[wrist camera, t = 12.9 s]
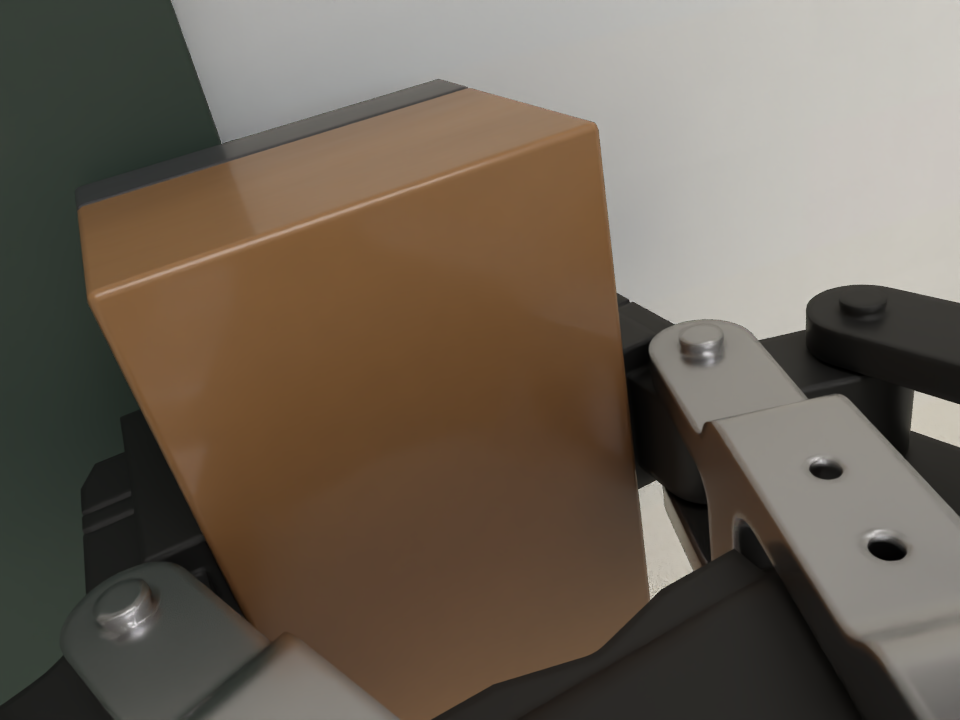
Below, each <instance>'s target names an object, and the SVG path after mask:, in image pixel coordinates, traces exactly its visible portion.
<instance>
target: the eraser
mask: <svg viewBox="0 0 960 720" xmlns="http://www.w3.org/2000/svg"><path fill="white" fill-rule="evenodd" d="M75 202H76V211H77V215H78V225H79V234H80V243H81V252H82V261H83V269H84V278H85V287H86V296H87V303H88V305H89V307H90V309H91V311H92V313H93V315H94V317H95V319H96V321H97V323H98V325H99V327H100V329H101V331H102V333H103V335H104V337H105V339H106V341H107V343H108V345H109V347H110V349H111V351H112V353H113V355H114V357H115V359H116V361H117V363H118V365H119V367H120V369H121V371H122V373H123V375H124V377H125V379H126V381H127V383H128V385H129V387H130V389H131V391H132V393H133V395H134V397H135V399H136V401H137V403H138V405H139V407H140V409H141V411H142V413H143V415H144V417H145V419H146V421H147V423H148V425H149V428H150V430H151V432H152V434H153V436H154V438H155V440H156V442H157V444H158V446H159V448H160V450H161V452H162V454H163V456H164V458H165V460H166V462H167V464H168V466H169V468H170V470H171V472H172V474H173V476H174V478H175V480H176V482H177V484H178V486H179V488H180V490H181V492H182V494H183V496H184V498H185V500H186V502H187V504H188V506H189V508H190V510H191V512H192V514H193V516H194V518H195V520H196V522H197V524H198V526H199V528H200V530H201V532H202V534H203V536H204V538H205V540H206V542H207V544H208V546H209V548H210V550H211V552H212V554H213V556H214V558H215V560H216V562H217V564H218V566H219V568H220V570H221V572H222V574H223V576H224V578H225V580H226V582H227V584H228V586H229V588H230V590H231V592H232V594H233V596H234V598H235V600H236V602H237V604H238V606H239V608H240V610H241V612H242V614H243V616H244V618H245V619H246V620H247V621H248V622H249V623H250V624H251V625H253V626H254V627H255V628H256V629H257V630H259V631H260V632H261V633H262V634H263V635H264V636H266V637H267V638H268V639H269V640H271V641H274V640H275V639H276V638H277V637H278V636H280V635H281V634H282V633H283V632H289V633H292V634H293V635H295V636H297V637H298V638H299V639H301V640H302V641H303V642H305V643H306V644H307V645H308V646H310V647H311V648H312V649H313V650H315V651H316V652H317V653H318V654H320V655H321V656H322V657H323V658H325V659H326V660H327V661H328V662H330V663H331V664H332V665H333V666H335V667H336V668H337V669H338V670H340V671H341V672H342V673H343V674H345V675H346V676H347V677H348V678H349V679H351V680H352V681H353V682H354V683H356V684H357V685H358V686H359V687H361V688H362V689H363V690H364V691H366V692H367V693H368V694H369V695H371V696H372V697H373V698H374V699H376V700H377V701H378V702H379V703H381V704H382V705H383V706H384V707H386V708H387V709H388V710H389V711H390V712H392V713H393V714H394V715H395V716H397V717H398V718H399V719H400V720H431V719H433V718H435V717H437V716H438V715H440V714H442V713H444V712H445V711H447V710H449V709H451V708H452V707H454V706H456V705H458V704H460V703H461V702H463V701H465V700H467V699H468V698H470V697H472V696H474V695H475V694H477V693H479V692H481V691H483V690H484V689H486V688H488V687H490V686H491V685H493V684H496V683H500V682H503V681H506V680H510V679H513V678H516V677H519V676H523V675H526V674H529V673H533V672H536V671H539V670H542V669H546V668H549V667H552V666H556V665H559V664H562V663H565V662H569V661H572V660H575V659H579V658H582V657H585V656H588V655H590V654H592V653H594V652H596V651H598V650H599V649H600V648H601V647H602V646H604V645H605V644H606V643H607V642H608V641H609V640H610V639H611V638H612V637H613V636H614V635H615V634H616V633H617V632H618V631H619V630H620V629H621V628H622V627H623V626H624V625H625V624H626V623H627V622H628V621H629V620H630V619H631V618H633V617H634V616H635V615H636V614H637V613H638V612H639V611H640V610H641V609H642V608H643V607H644V606H645V605H646V604H647V603H648V602H649V601H650V594H649V585H648V576H647V566H646V557H645V548H644V539H643V530H642V521H641V512H640V503H639V494H638V485H637V476H636V466H635V457H634V448H633V439H632V430H631V421H630V412H629V403H628V394H627V385H626V376H625V366H624V357H623V348H622V339H621V330H620V321H619V312H618V303H617V294H616V285H615V276H614V266H613V257H612V248H611V239H610V230H609V221H608V212H607V203H606V194H605V185H604V176H603V166H602V157H601V148H600V139H599V130H598V128H597V125H596V124H595V123H594V122H591V121H587V120H584V119H580V118H577V117H573V116H569V115H566V114H562V113H559V112H555V111H551V110H548V109H544V108H541V107H537V106H533V105H530V104H526V103H523V102H519V101H515V100H512V99H508V98H505V97H501V96H497V95H494V94H490V93H487V92H483V91H479V90H476V89H471V88H468V87H466V86H463V85H459V84H455V83H452V82H448V81H444V80H440V79H437V80H433V81H430V82H427V83H423V84H420V85H417V86H413V87H410V88H407V89H403V90H400V91H397V92H393V93H390V94H387V95H383V96H380V97H377V98H373V99H370V100H367V101H363V102H360V103H357V104H353V105H350V106H347V107H343V108H340V109H337V110H333V111H330V112H327V113H323V114H320V115H317V116H313V117H310V118H307V119H303V120H300V121H297V122H293V123H290V124H287V125H283V126H280V127H277V128H273V129H270V130H267V131H263V132H260V133H257V134H253V135H250V136H247V137H243V138H240V139H236V140H233V141H230V142H226V143H223V144H220V145H216V146H213V147H210V148H206V149H203V150H200V151H196V152H193V153H190V154H186V155H183V156H180V157H176V158H173V159H170V160H166V161H163V162H160V163H156V164H153V165H150V166H146V167H143V168H140V169H136V170H133V171H130V172H126V173H123V174H120V175H116V176H113V177H110V178H106V179H103V180H100V181H96V182H93V183H90V184H86V185H83V186H80V187H78V188H77V189H75Z"/></svg>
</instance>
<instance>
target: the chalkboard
mask: <svg viewBox="0 0 960 720" xmlns="http://www.w3.org/2000/svg"><path fill="white" fill-rule="evenodd" d="M220 144H221V141H220V138H219V135H218V132H217V129H216V127H215V124H214V121H213V118H212V115H211V113H210V110H209V107H208V104H207V101H206V98H205V96H204V93H203V90H202V87H201V84H200V82H199V79H198V76H197V73H196V70H195V67H194V65H193V62H192V59H191V56H190V53H189V51H188V48H187V45H186V42H185V39H184V36H183V34H182V31H181V28H180V25H179V22H178V20H177V17H176V14H175V11H174V8H173V5H172V3H171V0H0V706H1V705H2V704H4V703H5V702H6V701H8V700H9V699H11V698H12V697H13V696H15V695H16V694H18V693H19V692H20V691H22V690H23V689H25V688H26V687H27V686H29V685H30V684H32V683H33V682H34V681H35V680H37V679H38V678H39V677H41V676H42V675H43V674H44V673H45V672H47V671H48V670H49V669H50V668H51V667H52V666H53V665H54V664H55V663H56V662H57V661H58V660H59V659H60V658H61V657H62V656H63V653H62V651H61V650H60V644H59V639H60V632H61V629H62V626H63V624H64V622H65V620H66V618H67V616H68V615H69V614H70V612H71V611H72V609H73V608H74V607H75V606H76V605H77V603H78V602H79V601H80V600H81V599H82V598H83V597H84V596H85V595H86V586H85V567H84V548H83V536H84V533H83V529H82V517H83V514H82V510H81V491H80V489H81V488H82V486H83V484H84V482H85V481H86V479H87V477H88V475H89V473H90V472H91V470H92V468H93V466H94V465H95V464H96V463H98V462H101V461H103V460H105V459H108V458H110V457H113V456H115V455H118V454H120V453H123V452H125V450H124V443H123V437H122V430H121V423H120V417H122V416H124V415H127V414H129V413H132V412H134V411H137V410H139V409H140V407H139V405H138V403H137V401H136V399H135V397H134V395H133V393H132V391H131V389H130V387H129V385H128V383H127V381H126V379H125V377H124V375H123V373H122V371H121V369H120V367H119V365H118V363H117V361H116V359H115V357H114V355H113V353H112V351H111V349H110V347H109V345H108V343H107V341H106V339H105V337H104V335H103V333H102V331H101V329H100V327H99V325H98V323H97V321H96V319H95V317H94V315H93V313H92V311H91V309H90V307H89V305H88V303H87V296H86V287H85V278H84V269H83V261H82V252H81V243H80V234H79V225H78V215H77V211H76V202H75V189H77V188H78V187H80V186H83V185H86V184H90V183H93V182H96V181H100V180H103V179H106V178H110V177H113V176H116V175H120V174H123V173H126V172H130V171H133V170H136V169H140V168H143V167H146V166H150V165H153V164H156V163H160V162H163V161H166V160H170V159H173V158H176V157H180V156H183V155H186V154H190V153H193V152H196V151H200V150H203V149H206V148H210V147H213V146H216V145H220Z"/></svg>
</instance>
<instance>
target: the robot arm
mask: <svg viewBox="0 0 960 720" xmlns="http://www.w3.org/2000/svg"><path fill="white" fill-rule="evenodd" d="M616 294H617V303H618V312H619V321H620V330H621V339H622V348H623V357H624V366H625V376H626V385H627V394H628V403H629V412H630V421H631V430H632V439H633V448H634V457H635V466H636V476H637V485H638V489H640V488H642V487H644V486H646V485H648V484H650V483H652V482H654V481H656V480H657V481H658V482H659V483H661V484H662V486H663V496H664V506H665V510H666V512H667V515H668V517H669V519H670V521H671V523H672V526H673V528H674V530H675V532H676V534H677V536H678V539H679V541H680V543H681V545H682V547H683V549H684V552H685V554H686V556H687V558H688V560H689V563H690V565H691V567H692V569H693V572H692V573H690V574H688V575H686V576H684V577H683V578H681V579H679V580H677V581H676V582H674V583H672V584H670V585H669V586H667V587H665V588H663V589H661V590H660V591H659V592H658V593H657V594H656V595H655V596H654V597H653V598H652V599H651V600H650V601H649V602H648V603H647V604H646V605H645V606H644V607H643V608H642V609H641V610H640V611H639V612H638V613H637V614H636V615H635V616H634V617H633V618H631V619H630V620H629V621H628V622H627V623H626V624H625V625H624V626H623V627H622V628H621V629H620V630H619V631H618V632H617V633H616V634H615V635H614V636H613V637H612V638H611V639H610V640H609V641H608V642H607V643H606V644H605V645H604V646H602V647H601V648H600V649H599V650H598V651H596V652H594V653H592V654H590V655H588V656H585V657H582V658H579V659H575V660H572V661H569V662H565V663H562V664H559V665H556V666H552V667H549V668H546V669H542V670H539V671H536V672H533V673H529V674H526V675H523V676H519V677H516V678H513V679H510V680H506V681H503V682H500V683H496V684H493V685H491V686H490V687H488V688H486V689H484V690H483V691H481V692H479V693H477V694H475V695H474V696H472V697H470V698H468V699H467V700H465V701H463V702H461V703H460V704H458V705H456V706H454V707H452V708H451V709H449V710H447V711H445V712H444V713H442V714H440V715H438V716H437V717H435V718H433V719H431V720H960V448H959V447H957V446H954V445H951V444H948V443H945V442H942V441H939V440H936V439H933V438H931V437H928V436H925V435H922V434H919V433H916V432H913V431H910V428H911V418H912V408H913V398H914V390H915V391H918V392H921V393H925V394H928V395H931V396H934V397H938V398H941V399H944V400H947V401H951V402H954V403H957V404H960V303H957V302H952V301H948V300H943V299H939V298H934V297H930V296H925V295H921V294H916V293H912V292H907V291H903V290H898V289H894V288H889V287H883V286H876V285H849V286H842V287H837V288H833V289H829V290H826V291H824V292H822V293H819V294H818V295H816V296H814V297H813V298H812V299H811V300H810V301H809V303H808V304H807V308H806V330H803V331H798V332H794V333H789V334H785V335H780V336H776V337H772V338H767V339H763V340H757V338H756V337H755V336H754V335H753V334H752V333H751V332H750V331H749V330H748V329H746V328H744V327H743V326H740V325H738V324H735V323H732V322H728V321H723V320H713V319H702V320H692V321H686V322H682V323H678V324H673V323H671V322H669V321H667V320H665V319H664V318H662V317H660V316H658V315H656V314H654V313H653V312H651V311H649V310H647V309H645V308H643V307H642V306H640V305H638V304H636V303H634V302H631V303H630V302H629V299H627V298H625V297H623V296H621V295H620V294H618V293H616ZM120 423H121V430H122V437H123V443H124V450H125V452H123V453H120V454H118V455H115V456H113V457H110V458H108V459H105V460H103V461H101V462H98V463H96V464H95V465H94V466H93V468H92V470H91V472H90V473H89V475H88V477H87V479H86V481H85V482H84V484H83V486H82V488H81V489H80V491H81V510H82V514H83V517H82V529H83V533H84V536H83V548H84V567H85V586H86V595H85V596H84V597H83V598H82V599H81V600H80V601H79V602H78V603H77V605H76V606H75V607H74V608H73V609H72V611H71V612H70V614H69V615H68V616H67V618H66V620H65V622H64V624H63V626H62V629H61V632H60V639H59V644H60V650H61V651H62V653H63V656H62V657H61V658H60V659H59V660H58V661H57V662H56V663H55V664H54V665H53V666H52V667H51V668H50V669H49V670H48V671H47V672H45V673H44V674H43V675H42V676H41V677H39V678H38V679H37V680H35V681H34V682H33V683H32V684H30V685H29V686H27V687H26V688H25V689H23V690H22V691H20V692H19V693H18V694H16V695H15V696H13V697H12V698H11V699H9V700H8V701H6V702H5V703H4V704H2V705H1V706H0V720H400V719H399V718H398V717H397V716H395V715H394V714H393V713H392V712H390V711H389V710H388V709H387V708H386V707H384V706H383V705H382V704H381V703H379V702H378V701H377V700H376V699H374V698H373V697H372V696H371V695H369V694H368V693H367V692H366V691H364V690H363V689H362V688H361V687H359V686H358V685H357V684H356V683H354V682H353V681H352V680H351V679H349V678H348V677H347V676H346V675H345V674H343V673H342V672H341V671H340V670H338V669H337V668H336V667H335V666H333V665H332V664H331V663H330V662H328V661H327V660H326V659H325V658H323V657H322V656H321V655H320V654H318V653H317V652H316V651H315V650H313V649H312V648H311V647H310V646H308V645H307V644H306V643H305V642H303V641H302V640H301V639H299V638H298V637H297V636H295V635H293V634H292V633H289V632H283V633H282V634H281V635H280V636H278V637H277V638H276V639H275V640H274V641H271V640H269V639H268V638H267V637H266V636H264V635H263V634H262V633H261V632H260V631H259V630H257V629H256V628H255V627H254V626H253V625H251V624H250V623H249V622H248V621H247V620H246V619H245V618H244V616H243V614H242V612H241V610H240V608H239V606H238V604H237V602H236V600H235V598H234V596H233V594H232V592H231V590H230V588H229V586H228V584H227V582H226V580H225V578H224V576H223V574H222V572H221V570H220V568H219V566H218V564H217V562H216V560H215V558H214V556H213V554H212V552H211V550H210V548H209V546H208V544H207V542H206V540H205V538H204V536H203V534H202V532H201V530H200V528H199V526H198V524H197V522H196V520H195V518H194V516H193V514H192V512H191V510H190V508H189V506H188V504H187V502H186V500H185V498H184V496H183V494H182V492H181V490H180V488H179V486H178V484H177V482H176V480H175V478H174V476H173V474H172V472H171V470H170V468H169V466H168V464H167V462H166V460H165V458H164V456H163V454H162V452H161V450H160V448H159V446H158V444H157V442H156V440H155V438H154V436H153V434H152V432H151V430H150V428H149V425H148V423H147V421H146V419H145V417H144V415H143V413H142V411H141V409H139V410H137V411H134V412H132V413H129V414H127V415H124V416H122V417H120Z"/></svg>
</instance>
